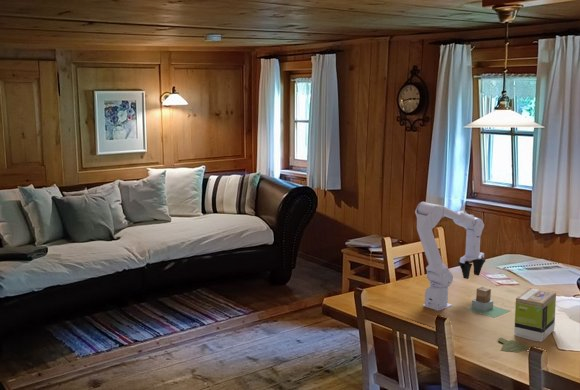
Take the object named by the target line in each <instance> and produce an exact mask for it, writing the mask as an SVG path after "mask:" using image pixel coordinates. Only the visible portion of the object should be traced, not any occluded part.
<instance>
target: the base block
mask: <svg viewBox="0 0 580 390" xmlns="http://www.w3.org/2000/svg"><path fill="white" fill-rule="evenodd" d="M493 306H494V300H492V299H490V301H489V302H486V303H483V302H479V301H476V298H475V299H473V300H471V307H472V308H475V309H479V310H482V311H487V310H489V309H492V308H493Z"/></svg>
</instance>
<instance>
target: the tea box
mask: <svg viewBox="0 0 580 390" xmlns="http://www.w3.org/2000/svg"><path fill="white" fill-rule="evenodd" d="M556 300H557V293H556V292H553V291H547V290H541V289H536V288H531V287H529V289H527V290H526V291H524V292H523V293H521V294H520V295H519V296H517V297H516V298H515V305H514V306H515V307H514V308H515V310H514V328H513V329H514V330H513V331H514V333H513V335H514V336H517V337H520V338H521V339H525V340H530V341H534V342H538V343H542V342H543V341H544V340H545V339H546V338H547V337H548V336H549V335H550V334H552V333H553V332H554V331H555V327H556V326H555V323H556V320H555V319H556V307H557V306H556V305H557V304H556V302H557V301H556Z"/></svg>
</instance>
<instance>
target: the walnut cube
mask: <svg viewBox="0 0 580 390" xmlns="http://www.w3.org/2000/svg"><path fill="white" fill-rule="evenodd" d="M491 294H492V289H491V288H488V287H485V286H480V287H478V288H476V295H475V296H476V297H475V299H476V301H479V302H483V303H486V302H489V301H490V300H491V296H492V295H491Z"/></svg>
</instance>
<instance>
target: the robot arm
mask: <svg viewBox="0 0 580 390" xmlns="http://www.w3.org/2000/svg"><path fill="white" fill-rule="evenodd" d="M414 214H415V216H416V230H417V234H418V236H419V240H420V242H421V245H422V248H423V251H424V255H425V258H426V261H427V263H428V265H427V266H426V267H425V269H426V278H427V280H428V281H429V287H427V288H426V289H425V291H424V304H422V307H425V308H429V309H432V310H435V311H441V310H445V309H447V308H450V307H452V306H453V305H452V304H451V303H448V302H449V287H450V286H451V284H452V283H453V281H454V275H453V273H452V272H451V271H450V269H449V267H447V265H446V264H445V263H444V262H443V259H442V256H441V254H440V250H439V247H438V245H437V242H436V238H435V236H434V232H433V229H434V228H436V226H437V225H438V223H439V222H440V221H441V219H442V218H443V219H444V218H448V219H451V220H453V222H454V224H455V225H458V226H459V227H463V228H464V230H466V233H465V235H466V236H465V253H464V255H463V256H461V257H460V258H459V261H458V265H459V267H460V269H461V273H462V278H463V279H466V280H468V279H469V278H470V272H471V268H472V266H473V274H474V276H477V277H479V276H480V274H481V271H482V268H483V265H484V264H485V262H486V259H485V253H484V252H482V251H481V252H480V250H481V236H482V233H483V230H484V228H485V224H484V221H483V220H482V219H481V218H479V217H476V216H475V215H474V214H469V213H467V211H466V210H463V209H462V210H458V211H457V212H456V211H455V210H453V209H450V208H449V207H448V206H447V207H446V206H444V205H441V204H434V203H430V202H426V201H421V202H419V203H418V204H417V206H416V209H415V211H414ZM471 261H472V263H470V262H471Z"/></svg>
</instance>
